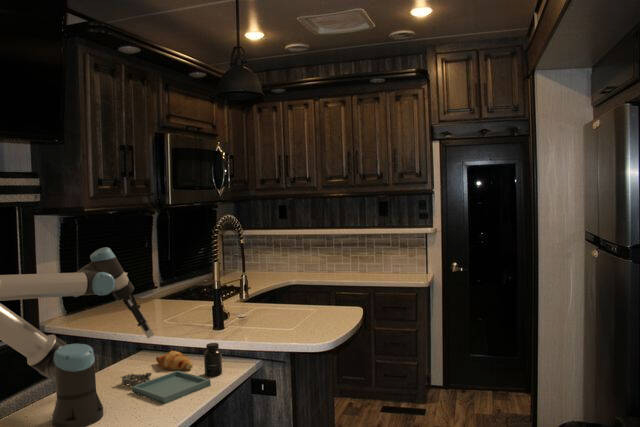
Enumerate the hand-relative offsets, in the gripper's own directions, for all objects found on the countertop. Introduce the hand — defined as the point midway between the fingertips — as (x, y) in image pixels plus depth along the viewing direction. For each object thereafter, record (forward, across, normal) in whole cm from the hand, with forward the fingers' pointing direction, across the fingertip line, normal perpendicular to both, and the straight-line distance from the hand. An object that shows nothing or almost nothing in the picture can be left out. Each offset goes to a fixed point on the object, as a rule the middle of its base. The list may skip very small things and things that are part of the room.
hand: (147, 329), depth 199 cm
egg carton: (+16, -3, +14) cm, 21 cm away
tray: (+18, -17, +3) cm, 25 cm away
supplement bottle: (+27, -10, -12) cm, 31 cm away
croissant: (+25, +8, -1) cm, 26 cm away
